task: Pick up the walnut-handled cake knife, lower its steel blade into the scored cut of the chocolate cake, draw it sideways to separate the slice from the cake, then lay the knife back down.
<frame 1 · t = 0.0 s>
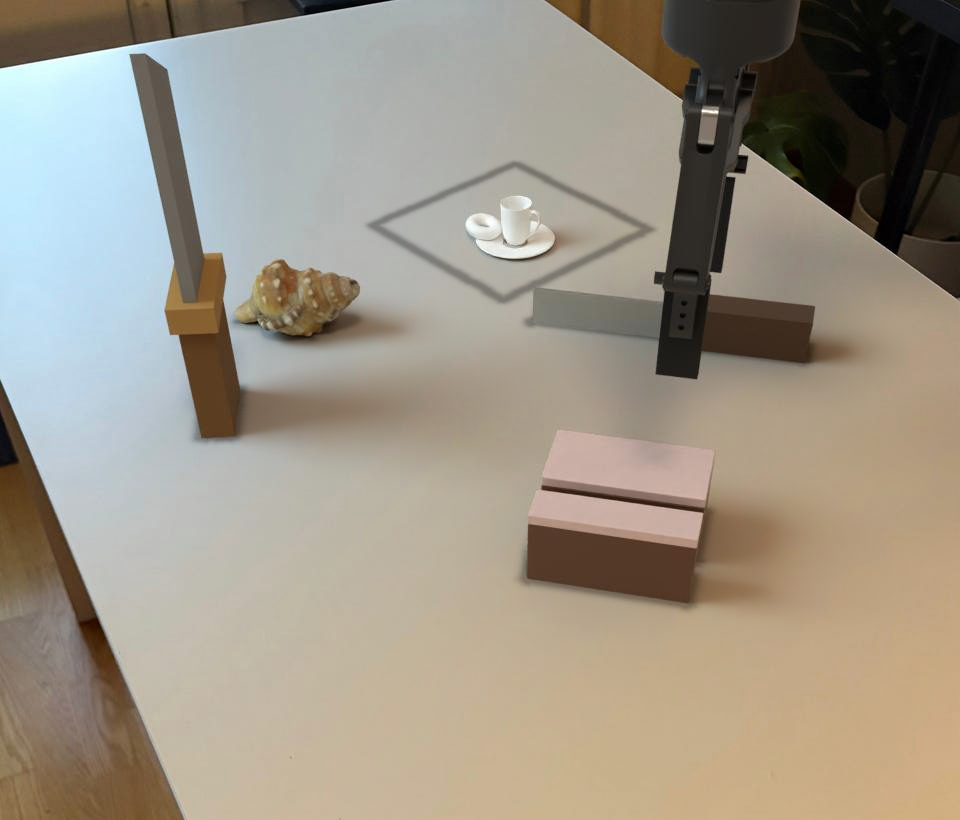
hand: (690, 319, 83), 16 cm above the table, tool pointing down, fingers open, 13 cm apart
knife: (222, 416, 105), on the table
teacup and saucer: (510, 230, 125), on the table
cake slice: (612, 546, 88), point 3 cm above the table, slide at 0.0 cm
cake knife: (693, 342, 111), on the table
cake: (616, 551, 92), on the table
seashell: (301, 326, 114), on the table
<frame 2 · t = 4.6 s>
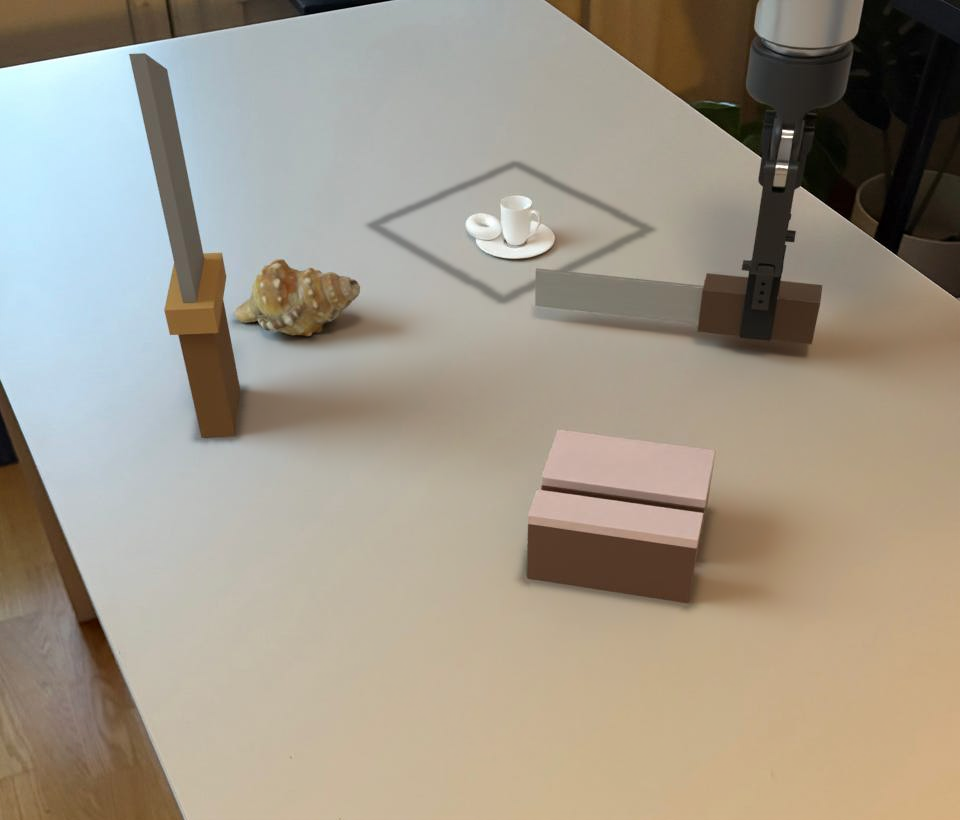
hand: (757, 325, 108), 2 cm above the table, tool pointing down, fingers closed on cake knife, 3 cm apart
cake knife: (699, 323, 109), point 2 cm above the table, touching gripper
everything else where it was.
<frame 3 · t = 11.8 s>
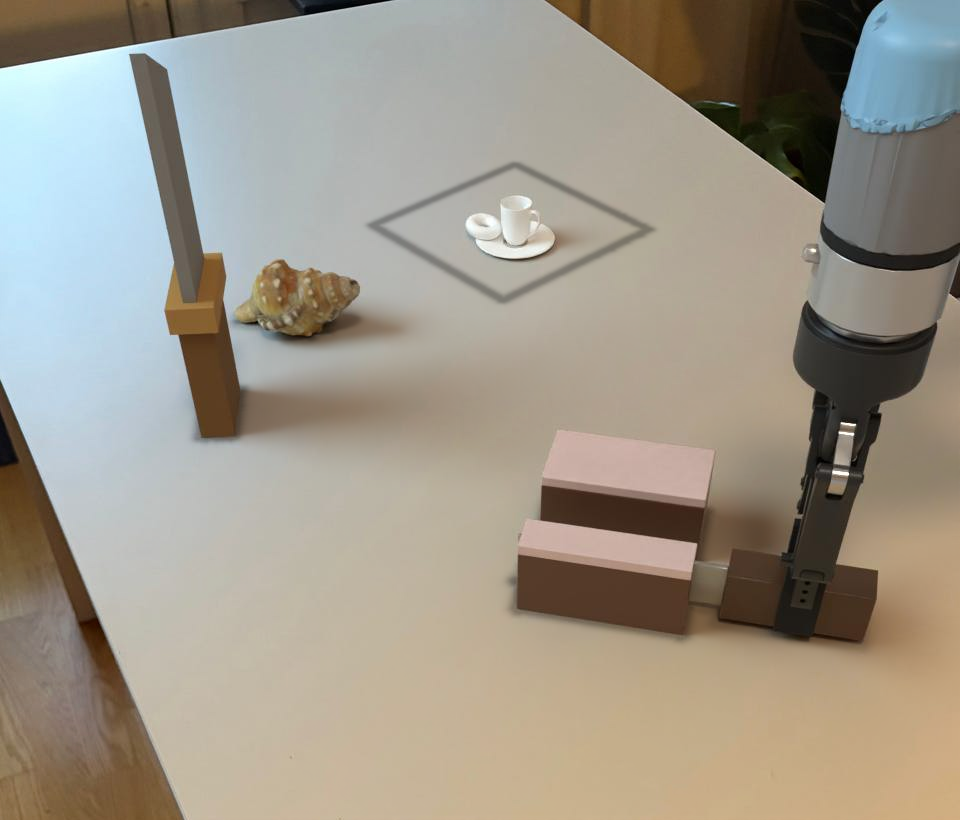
hand: (795, 611, 86), 1 cm above the table, tool pointing down, fingers closed on cake knife, 3 cm apart
cake slice: (604, 577, 86), point 3 cm above the table, slide at 3.3 cm
cake knife: (721, 603, 87), point 1 cm above the table, touching gripper
everything else where it was.
when the fingers open (0 cm above the table, at t = 19.1 s): cake knife stays where it is, on the table.
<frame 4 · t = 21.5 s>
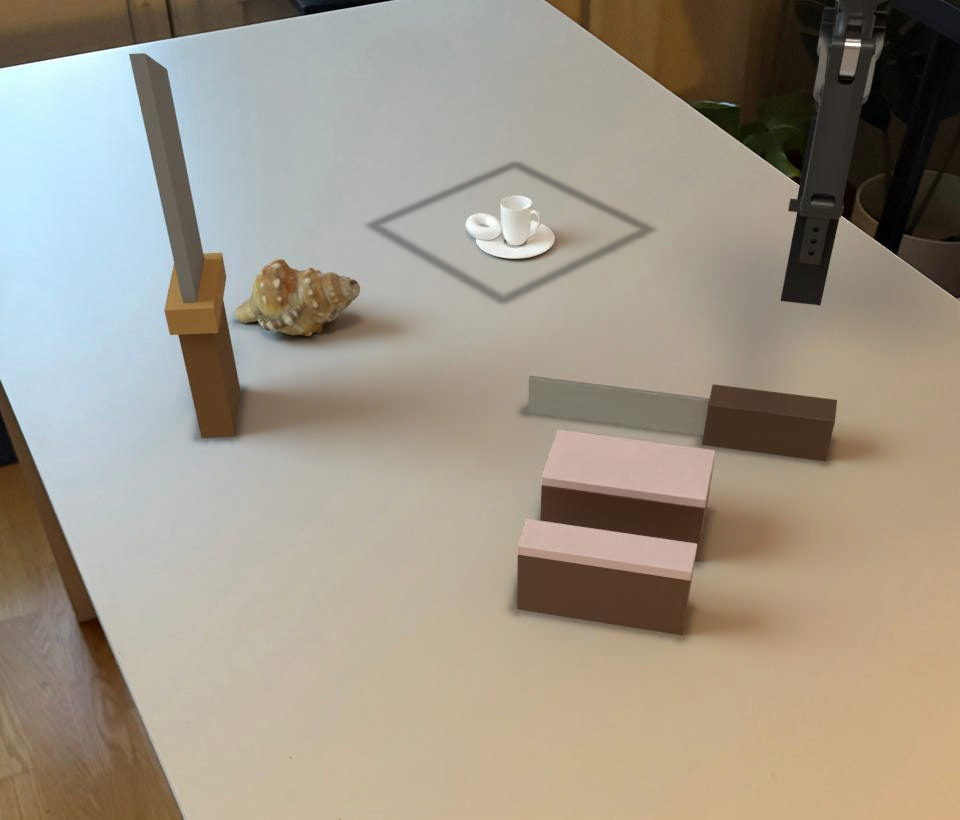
hand: (807, 252, 88), 17 cm above the table, tool pointing down, fingers open, 13 cm apart
cake knife: (704, 435, 101), on the table
everything else where it was.
at the end: cake slice slide at 3.4 cm; cake knife inside the target area (0.4 cm from its centre), on the table; the gripper is holding nothing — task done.
